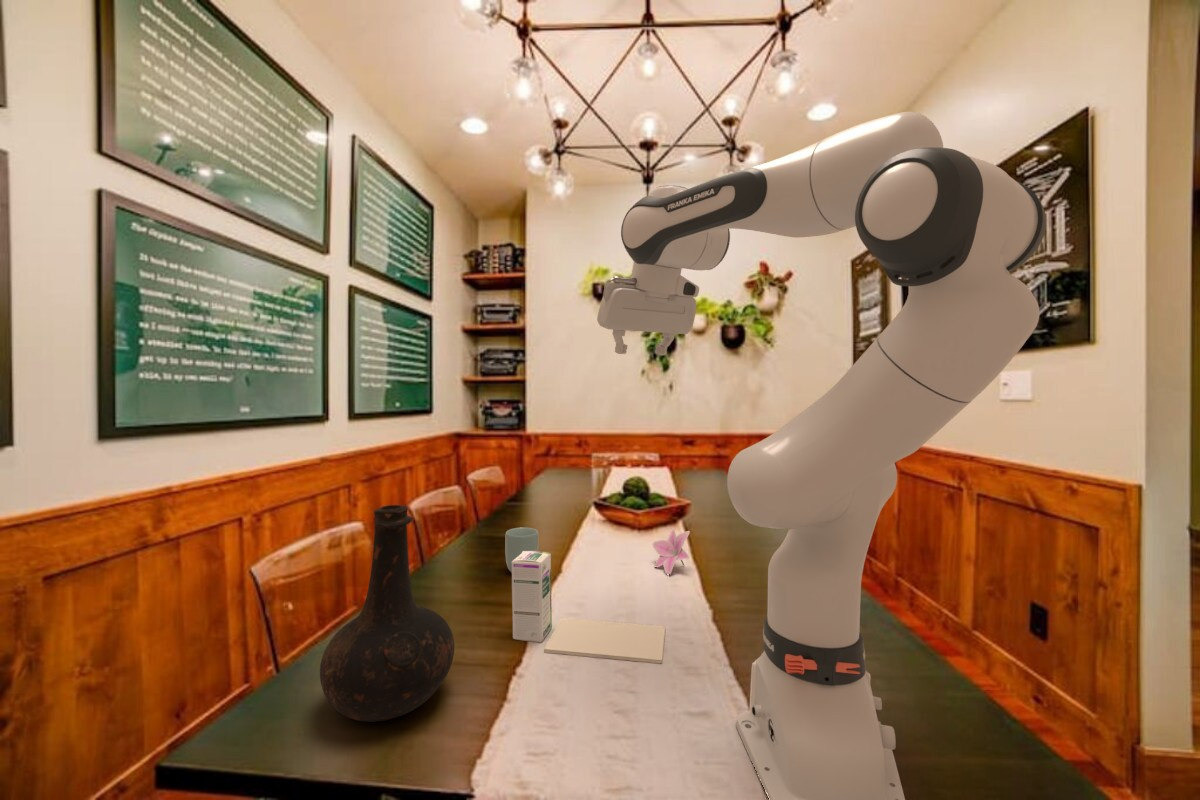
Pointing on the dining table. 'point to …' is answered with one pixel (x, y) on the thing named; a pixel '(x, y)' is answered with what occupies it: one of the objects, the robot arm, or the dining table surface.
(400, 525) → the glass bottle
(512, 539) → the cup
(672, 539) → the lily
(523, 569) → the syrup box
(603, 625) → the mat
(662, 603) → the dining table surface
